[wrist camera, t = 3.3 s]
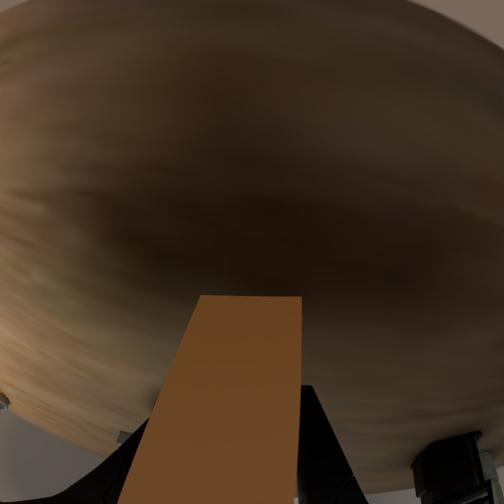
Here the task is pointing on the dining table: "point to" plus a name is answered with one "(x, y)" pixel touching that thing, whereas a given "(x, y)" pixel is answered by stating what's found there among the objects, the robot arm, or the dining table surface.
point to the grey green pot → (489, 476)
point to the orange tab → (226, 409)
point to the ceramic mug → (3, 403)
